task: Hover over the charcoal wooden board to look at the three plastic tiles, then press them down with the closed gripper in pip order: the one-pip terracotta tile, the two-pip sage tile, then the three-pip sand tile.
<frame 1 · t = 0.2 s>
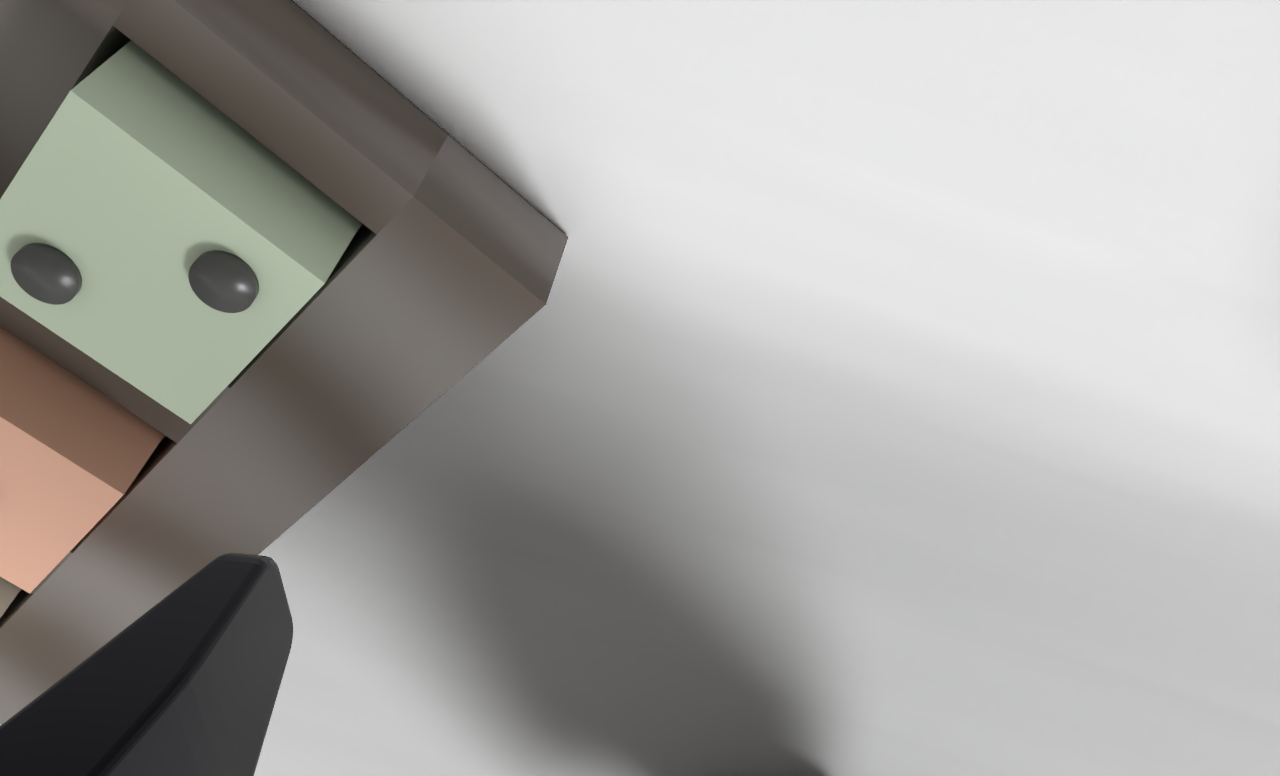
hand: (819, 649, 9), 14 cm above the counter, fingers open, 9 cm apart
tile board: (69, 366, 28), on the counter
tile two: (173, 232, 22), point 3 cm above the counter, slide at 0.0 cm
tile one: (8, 438, 26), point 3 cm above the counter, slide at 0.0 cm
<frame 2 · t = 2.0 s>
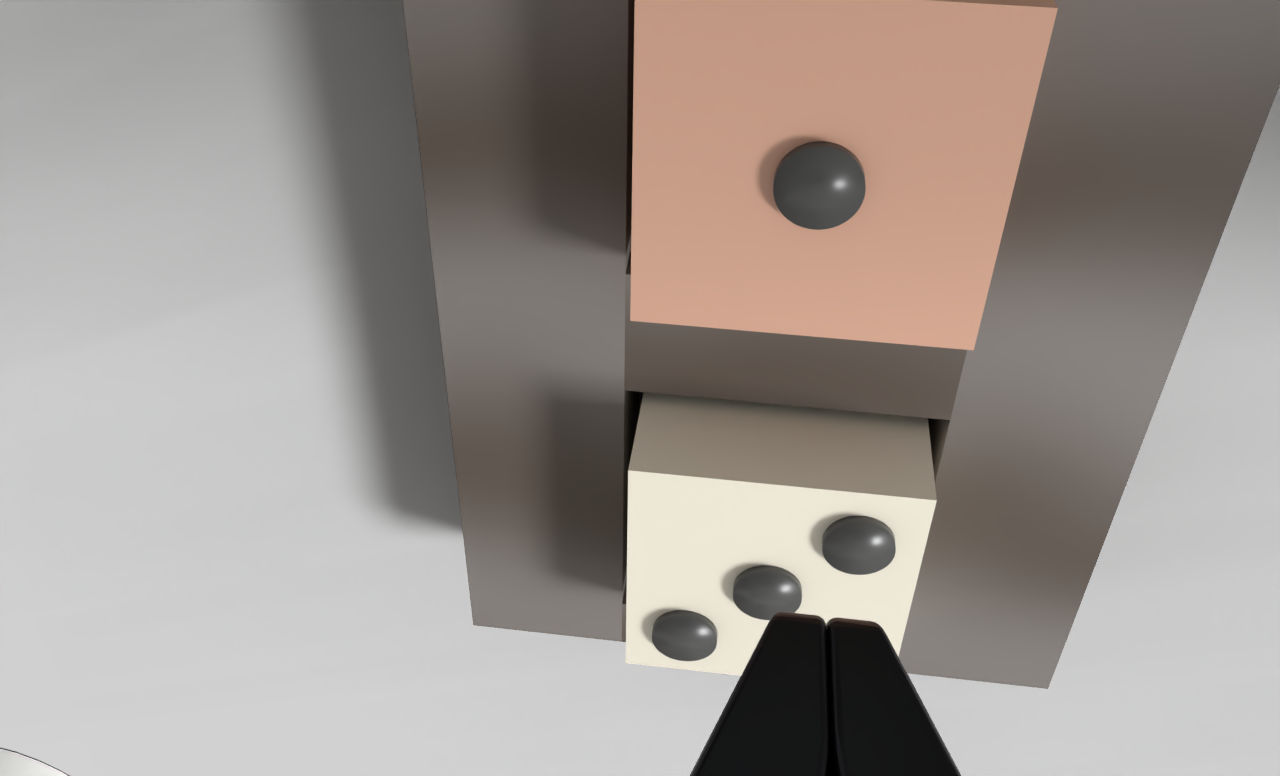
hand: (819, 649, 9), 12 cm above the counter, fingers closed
tile three: (770, 528, 21), point 3 cm above the counter, slide at 0.0 cm
tile board: (820, 57, 19), on the counter
tile one: (819, 132, 16), point 3 cm above the counter, slide at 0.0 cm
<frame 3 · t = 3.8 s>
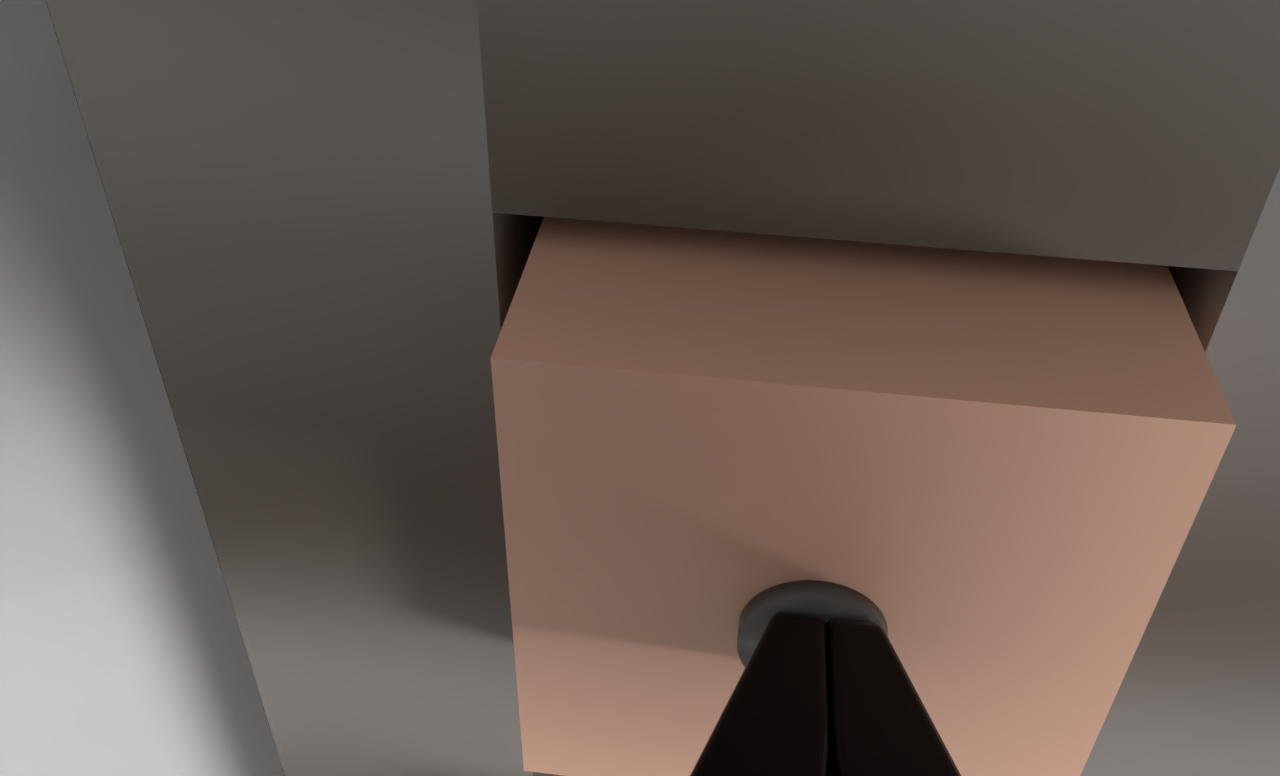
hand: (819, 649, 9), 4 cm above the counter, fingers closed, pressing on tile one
tile board: (815, 344, 12), on the counter
tile one: (813, 502, 10), point 2 cm above the counter, slide at 0.3 cm, touching gripper
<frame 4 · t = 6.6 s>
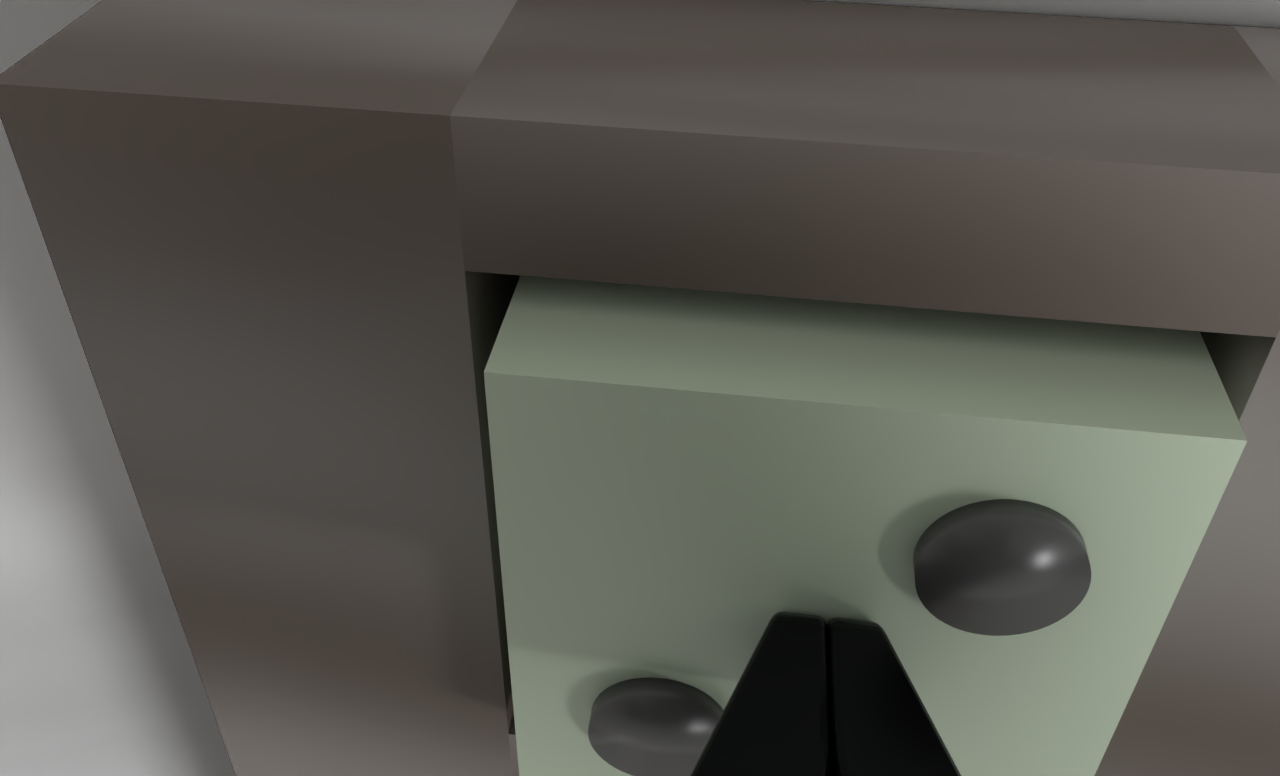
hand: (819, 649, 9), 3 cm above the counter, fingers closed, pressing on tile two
tile two: (814, 515, 10), point 2 cm above the counter, slide at 0.9 cm, touching gripper
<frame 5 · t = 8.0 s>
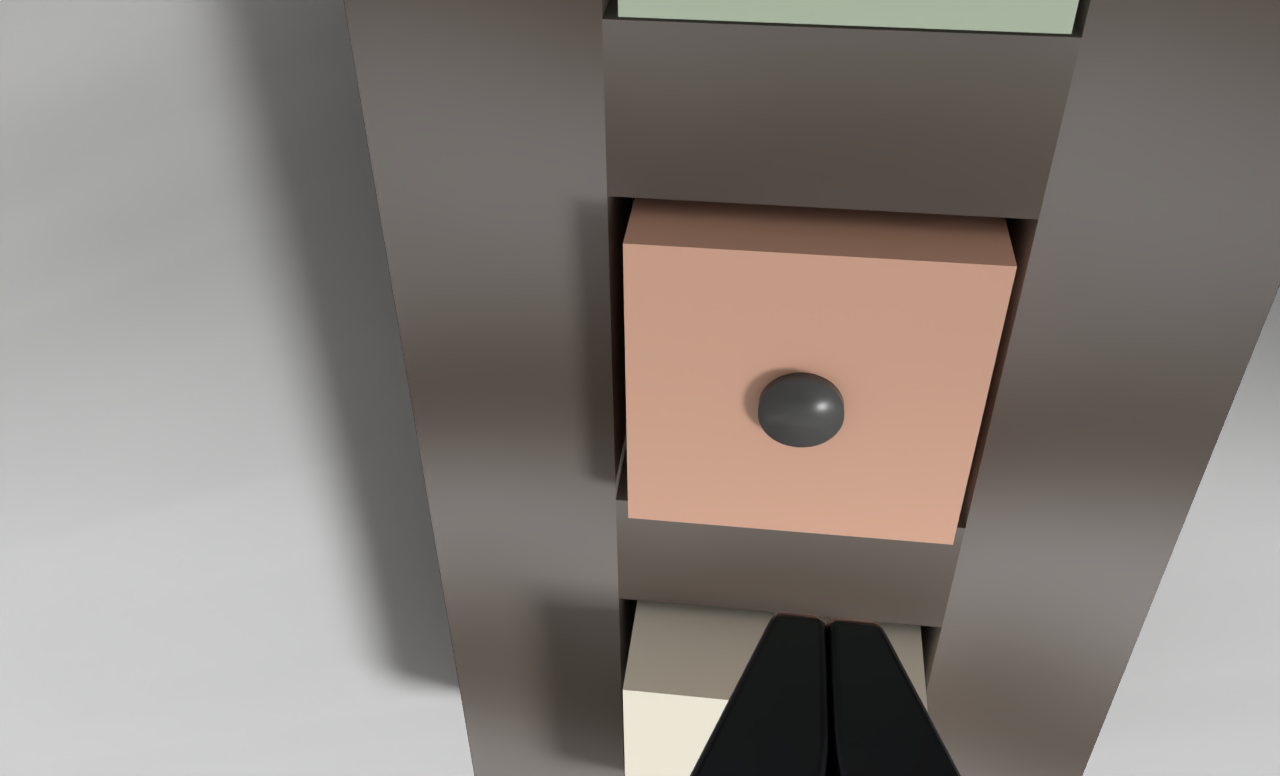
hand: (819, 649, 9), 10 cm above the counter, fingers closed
tile three: (767, 719, 22), point 3 cm above the counter, slide at 0.0 cm
tile board: (803, 283, 19), on the counter
tile one: (802, 343, 17), point 2 cm above the counter, slide at 1.0 cm
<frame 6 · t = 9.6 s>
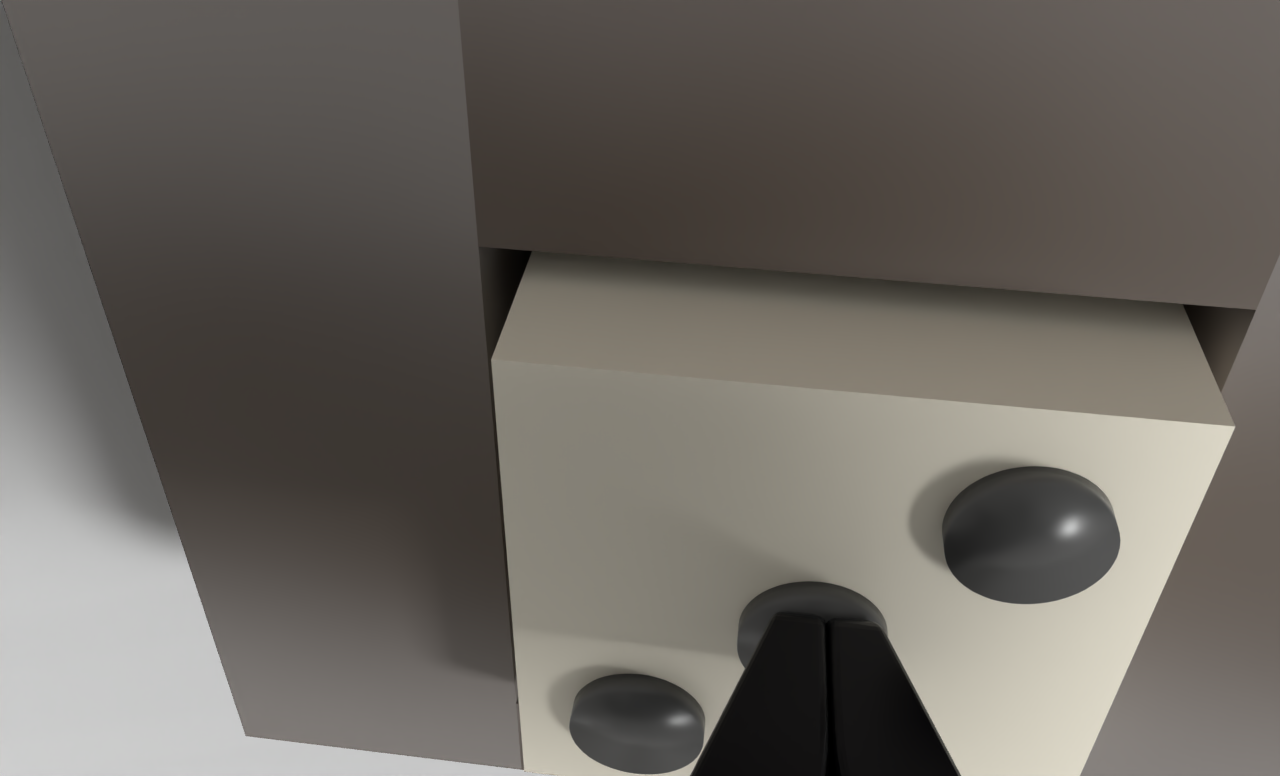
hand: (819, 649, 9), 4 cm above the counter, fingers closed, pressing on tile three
tile three: (813, 503, 11), point 2 cm above the counter, slide at 0.7 cm, touching gripper
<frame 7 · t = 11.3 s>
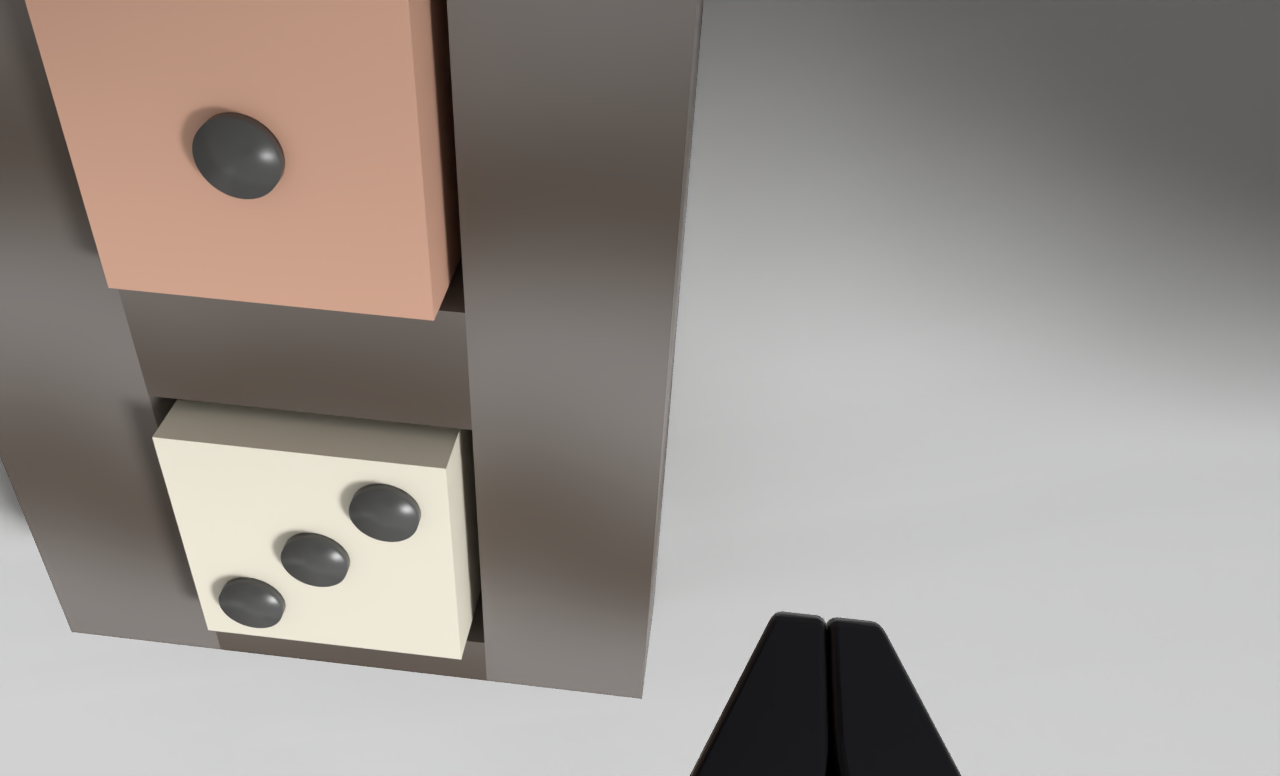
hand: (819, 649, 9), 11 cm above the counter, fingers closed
tile three: (342, 498, 22), point 2 cm above the counter, slide at 1.0 cm
tile board: (317, 60, 18), on the counter
tile one: (280, 106, 17), point 2 cm above the counter, slide at 1.0 cm
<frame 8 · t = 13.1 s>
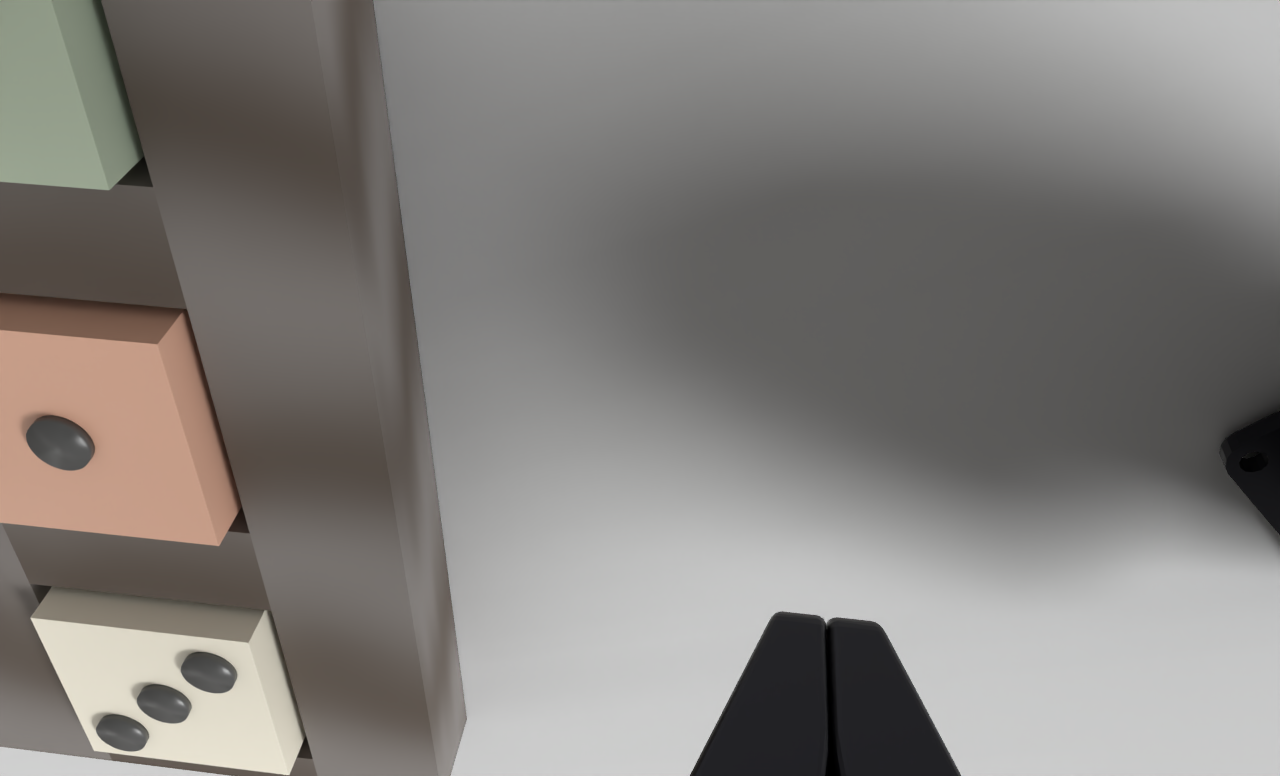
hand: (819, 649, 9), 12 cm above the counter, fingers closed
tile three: (193, 649, 28), point 2 cm above the counter, slide at 1.0 cm
tile board: (141, 340, 24), on the counter
tile one: (102, 390, 23), point 2 cm above the counter, slide at 1.0 cm
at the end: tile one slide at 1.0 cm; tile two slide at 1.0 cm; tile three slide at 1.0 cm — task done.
